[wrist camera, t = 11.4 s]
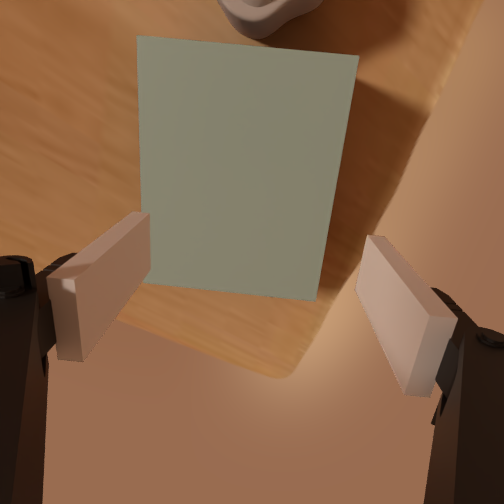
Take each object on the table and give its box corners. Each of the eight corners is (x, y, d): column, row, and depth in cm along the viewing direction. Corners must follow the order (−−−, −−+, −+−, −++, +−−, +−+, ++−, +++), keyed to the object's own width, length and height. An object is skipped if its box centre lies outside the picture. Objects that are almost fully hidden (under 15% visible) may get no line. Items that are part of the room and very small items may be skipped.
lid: (141, 37, 27) (136, 35, 26) (356, 57, 26) (359, 55, 25) (146, 278, 34) (143, 282, 33) (314, 296, 34) (315, 301, 33)
